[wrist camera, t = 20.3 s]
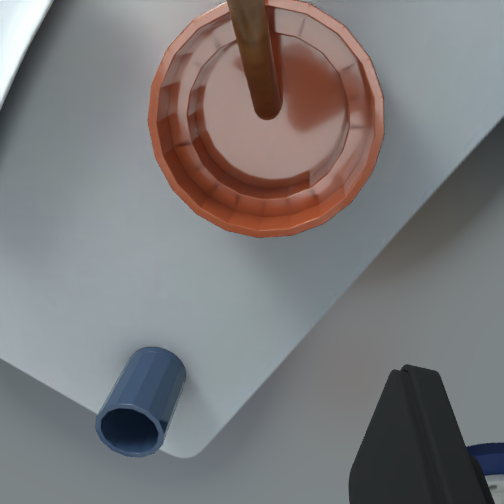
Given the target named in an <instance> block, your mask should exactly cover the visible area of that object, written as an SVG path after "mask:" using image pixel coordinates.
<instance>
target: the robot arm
mask: <svg viewBox="0 0 504 504" xmlns="http://www.w3.org/2000/svg"><path fill="white" fill-rule="evenodd" d="M349 501H350V504H504V474H498V475H487V476H484V474H483V471H482V469H481V467H480V465H479V463H478V461H477V459H476V458H475V457H473V456H472V455H470V454H468V451H467V449H466V446H465V443H464V440H463V438H462V435H461V432H460V429H459V427H458V424H457V421H456V418H455V416H454V413H453V410H452V407H451V405H450V402H449V399H448V396H447V394H446V391H445V388H444V385H443V382H442V380H441V377H440V375H439V373H438V372H437V371H434V370H430V369H425V368H421V367H417V366H412V365H404V366H403V367H402V369H401V371H399V370H392V372H391V373H390V375H389V377H388V380H387V382H386V384H385V387H384V389H383V392H382V394H381V397H380V399H379V402H378V404H377V407H376V409H375V412H374V414H373V417H372V419H371V422H370V424H369V426H368V429H367V431H366V434H365V437H364V439H363V441H362V444H361V446H360V448H359V451H358V453H357V456H356V458H355V461H354V463H353V466H352V468H351V472H350V477H349Z"/></svg>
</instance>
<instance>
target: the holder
mask: <svg viewBox="0 0 504 504" xmlns="http://www.w3.org/2000/svg"><path fill="white" fill-rule="evenodd" d="M185 380H186V372H185V368H184V366H183V364H182V362H181V361H180V360H179V359H178V358H177V357H176V356H175V355H174V354H172V353H171V352H169V351H167V350H164V349H161V348H156V347H148V348H143V349H140V350H138V351H136V352H135V353H134V354H133V355H132V356H131V357H130V359H129V361H128V362H127V364H126V365H125V367H124V369H123V370H122V372H121V374H120V376H119V377H118V379H117V381H116V383H115V384H114V386H113V388H112V390H111V392H110V393H109V395H108V397H107V399H106V400H105V402H104V404H103V406H102V408H101V409H100V411H99V413H98V415H97V416H96V425H95V429H96V432H97V434H98V436H99V438H100V440H101V441H102V442H103V443H104V444H106V445H107V446H108V447H109V448H110V449H111V450H113V451H115V452H118V453H120V454H122V455H125V456H130V457H145V456H147V455H151V454H154V453H155V452H156V451H157V450H158V449H159V448H160V447H161V446H162V445H163V442H164V440H165V437H166V434H167V431H168V429H169V426H170V423H171V420H172V418H173V415H174V412H175V409H176V407H177V404H178V401H179V399H180V396H181V393H182V390H183V386H184V383H185Z"/></svg>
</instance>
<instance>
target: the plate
mask: <svg viewBox="0 0 504 504" xmlns="http://www.w3.org/2000/svg"><path fill="white" fill-rule="evenodd" d="M53 1H54V0H0V110H1V108H2V105H3V103H4V101H5V98H6V96H7V94H8V92H9V89H10V87H11V85H12V83H13V80H14V78H15V76H16V74H17V72H18V69H19V67H20V65H21V63H22V61H23V59H24V56H25V54H26V52H27V50H28V48H29V46H30V44H31V42H32V40H33V39H34V37H35V35H36V33H37V31H38V29H39V27H40V26H41V24H42V22H43V20H44V18H45V16H46V14H47V13H48V11H49V9H50V7H51V5H52V3H53Z"/></svg>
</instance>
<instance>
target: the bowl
mask: <svg viewBox="0 0 504 504" xmlns="http://www.w3.org/2000/svg"><path fill="white" fill-rule="evenodd" d="M264 5H265V11H266V16H267V22H268V28H269V34H270V40H271V46H272V52H273V58H274V64H275V70H276V76H277V81H278V87H279V93H280V99H281V111H280V113H279V114H278V116H277V117H275V118H274V119H271V120H263V119H261V118H259V117H258V116H257V115H256V113H255V111H254V107H253V103H252V99H251V95H250V91H249V87H248V83H247V79H246V75H245V71H244V67H243V63H242V59H241V55H240V51H239V48H238V44H237V40H236V36H235V32H234V28H233V24H232V20H231V16H230V12H229V8H228V4H227V2H225V3H223V4H221V5H219V6H217V7H216V8H214V9H212V10H210V11H208V12H206V13H204V14H203V15H201V16H199V17H197V18H195V19H194V20H192V22H191V23H190V24H189V25H188V26H187V27H186V28H185V29H184V30H183V32H182V33H181V34H180V35H179V36H178V37H177V38H176V39H175V40H174V42H173V43H172V44H171V45H170V46H169V47H168V48H167V50H166V52H165V54H164V57H163V59H162V61H161V64H160V66H159V68H158V70H157V73H156V75H155V77H154V80H153V82H152V85H151V94H150V104H149V114H148V125H149V130H150V135H151V140H152V145H153V150H154V155H155V158H156V160H157V162H158V164H159V166H160V168H161V170H162V172H163V173H164V175H165V177H166V179H167V181H168V183H169V185H170V187H171V188H172V190H173V191H174V192H175V193H176V194H177V195H178V196H179V197H180V198H181V199H182V200H183V201H184V202H185V203H186V204H187V205H188V206H189V207H190V208H191V209H192V210H193V211H194V212H195V213H196V214H197V215H199V216H201V217H203V218H204V219H206V220H208V221H210V222H211V223H213V224H215V225H217V226H219V227H220V228H222V229H224V230H226V231H230V232H235V233H239V234H243V235H248V236H252V237H257V238H258V237H259V238H263V237H278V236H291V235H295V234H298V233H300V232H303V231H306V230H308V229H311V228H314V227H316V226H319V225H322V224H324V223H325V222H327V221H328V220H329V219H331V218H332V217H333V216H334V215H336V214H337V213H338V212H340V211H341V210H342V209H344V208H345V207H346V206H347V205H349V204H350V203H351V202H352V201H353V200H354V198H355V197H356V195H357V194H358V193H359V191H360V190H361V188H362V187H363V185H364V184H365V183H366V181H367V180H368V178H369V177H370V175H371V174H372V172H373V170H374V167H375V164H376V161H377V157H378V154H379V151H380V148H381V145H382V141H383V138H384V97H383V93H382V90H381V87H380V84H379V81H378V78H377V75H376V72H375V69H374V66H373V63H372V61H371V59H370V57H369V55H368V54H367V53H366V51H365V50H364V49H363V48H362V46H361V45H360V44H359V42H358V41H357V40H356V39H355V37H354V36H353V35H352V34H351V32H350V31H349V30H348V28H347V27H346V26H345V25H344V24H342V23H341V22H339V21H337V20H336V19H334V18H333V17H331V16H330V15H328V14H326V13H325V12H323V11H322V10H320V9H318V8H317V7H315V6H314V5H312V4H310V3H307V2H303V1H298V0H264Z"/></svg>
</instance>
